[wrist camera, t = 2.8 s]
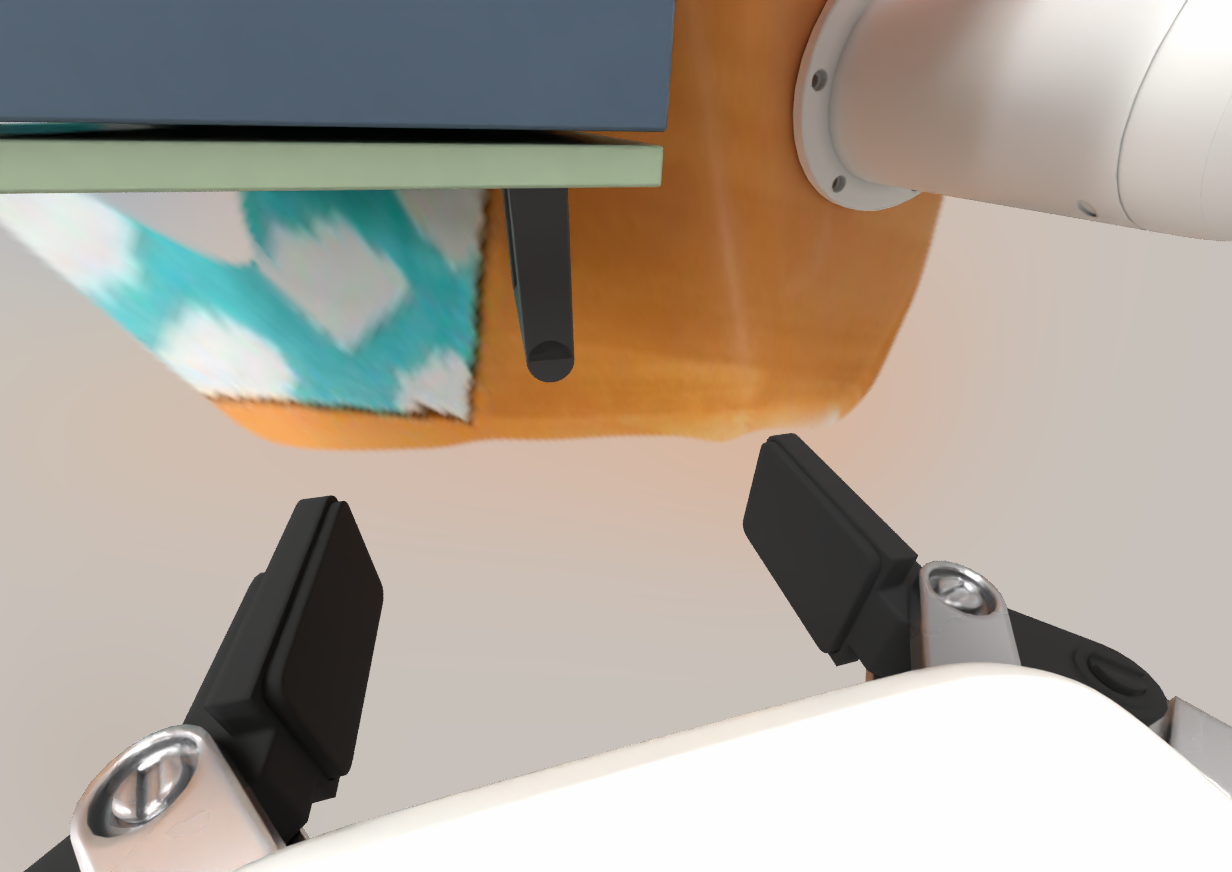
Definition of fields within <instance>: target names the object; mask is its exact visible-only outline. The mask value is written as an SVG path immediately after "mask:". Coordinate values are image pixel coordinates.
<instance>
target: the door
mask: <svg viewBox="0 0 1232 872" xmlns="http://www.w3.org/2000/svg"><path fill="white" fill-rule="evenodd" d="M662 164H663V147H662V146H660V145H655V144H649V143H643V142H637V141H632V140H626V139H620V138H614V137H608V136H603V135H597V134H591V133H585V132H579V131H573V130H508V129H442V128H376V127H310V126H244V125H179V124H113V123H23V124H22V123H19V124H0V194H7V193H105V192H197V191H198V192H202V191H204V192H205V191H304V190H403V189H502V194H503V203H504V212H505V221H506V230H507V239H508V248H509V258H510V267H511V276H512V285H513V290H514V296H515V301H516V307H517V312H518V318H519V323H520V329H521V334H522V340H523V345H524V351H525V356H526V362H527V367H528V369H529V371H530V373H531V374H532V375H533V376H534V377H535V378H537V379H538V380H541V381H544V382H556V381H559V380H562V379H563V378H565V377H566V376H567V375H568V374H569V373H570V372H571V370H572V368H573V365H574V339H573V312H572V285H571V259H570V232H569V205H568V188H601V187H659V186H660V185H661V179H662Z"/></svg>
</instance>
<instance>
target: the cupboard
mask: <svg viewBox="0 0 1232 872" xmlns="http://www.w3.org/2000/svg"><path fill="white" fill-rule="evenodd" d="M674 15H675V0H0V122H47V123H113V124H179V125H244V126H310V127H376V128H442V129H508V130H573V131H639V132H664V131H666V128H667V120H668V105H669V90H670V75H671V60H672V45H673V30H674Z"/></svg>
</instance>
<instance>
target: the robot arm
mask: <svg viewBox="0 0 1232 872" xmlns="http://www.w3.org/2000/svg"><path fill="white" fill-rule="evenodd" d="M812 79H813V84H812ZM793 126H794V140H795V145H796V149H797V153H798V158H799V161H800V164H801V166H802V168H803V170H804V172H805V175H806V177H807V179H808V180H809V181H810V183H811V184H812V185H813V187H814V188H815V189H816V190H817V192H818V193H819V194H821V195H822V196H823V197H825V198H826V199H827V200H829V201H830V202H832V203H834V204H837V205H840V206H842V207H845V208H849V209H854V210H859V211H879V210H883V209H887V208H891V207H895V206H897V205H899V204H901V203H904V202H906V201H908V200H910V199H912V198H914V197H915V196H917V195H918V194H920V193H921V192H929V193H935V194H941V195H946V196H952V197H958V198H964V199H970V200H975V201H981V202H987V203H993V204H998V205H1004V206H1010V207H1016V208H1021V209H1027V210H1033V211H1038V212H1044V213H1050V214H1056V215H1062V216H1067V217H1073V218H1079V219H1085V220H1090V221H1096V222H1102V223H1107V224H1113V225H1119V226H1125V227H1130V228H1136V229H1142V230H1149V231H1153V232H1159V233H1165V234H1171V235H1177V236H1183V237H1189V238H1195V239H1204V240H1214V241H1232V0H828V1H827V2H826V4H825V6H824V8H823V10H822V12H821V14H820V16H819V18H818V20H817V22H816V24H815V26H814V28H813V30H812V32H811V35H810V38H809V40H808V43H807V46H806V49H805V51H804V54H803V57H802V60H801V65H800V69H799V73H798V78H797V82H796V87H795V96H794V107H793ZM743 528H744V532H745V534H746V536H747V538H748V539H749V541H750V542H751V544H752V545H753V547H754V549H755V550H756V552H757V553H758V555H759V556H760V558H761V559H762V561H763V562H764V564H765V566H766V567H767V568H768V570H769V572H770V573H771V575H772V576H773V578H774V579H775V581H776V582H777V584H778V586H779V587H780V589H781V590H782V592H783V593H784V595H785V597H786V598H787V600H788V601H789V602H790V604H791V606H792V607H793V609H794V610H795V612H796V613H797V615H798V617H799V618H800V620H801V621H802V623H803V624H804V626H805V627H806V629H807V631H808V632H809V634H810V635H811V637H812V638H813V640H814V642H815V643H816V644H817V646H818V647H819V649H820V650H821V651H822V652H824V653H828V654H829V655H830V657H831V658H832V660H833V661H834V663H835V664H836V666H839V665H843V664H847V663H851V662H855V661H858V659H860V661H861V662H862V664H863V665H864V666H865V668H866V682H864V683H860V684H856V685H852V686H848V687H844V688H841V689H837V690H833V691H829V692H826V693H822V694H818V695H814V696H810V697H807V698H803V699H800V700H796V701H792V702H788V703H784V704H781V705H777V706H773V707H769V708H766V709H762V710H758V711H754V712H751V713H747V714H744V715H739V716H736V717H732V718H728V719H725V720H721V721H718V722H714V723H710V724H706V725H703V726H699V727H695V728H692V729H688V730H684V731H681V732H677V733H673V734H670V735H666V736H663V737H659V738H655V739H651V740H648V741H644V742H640V743H637V744H633V745H629V746H626V747H622V748H619V749H615V750H611V751H607V752H604V753H601V754H597V755H593V756H590V757H586V758H582V759H579V760H575V761H571V762H568V763H565V764H561V765H557V766H553V767H550V768H547V769H543V770H539V771H535V772H532V773H528V774H525V775H521V776H518V777H514V778H510V779H507V780H503V781H499V782H496V783H492V784H489V785H485V786H482V787H478V788H474V789H471V790H467V791H463V792H460V793H456V794H453V795H449V796H446V797H442V798H439V799H436V800H432V801H429V802H425V803H422V804H419V805H416V806H412V807H409V808H405V809H402V810H398V811H395V812H392V813H388V814H385V815H382V816H378V817H375V818H372V819H368V820H365V821H362V822H358V823H355V824H351V825H348V826H345V827H342V828H339V829H336V830H333V831H330V832H327V833H324V834H322V835H319V836H316V837H313V838H309V836H308V835H307V833H306V832H305V830H304V829H303V826H304V825H305V823H307V821H308V818H309V814H310V810H311V805H312V803H315V802H319V801H322V800H326V799H330V798H334V797H336V792H337V787H338V782H339V778H340V776H344V775H346V774H348V772H349V770H350V768H351V764H352V760H353V755H354V750H355V745H356V739H357V734H358V729H359V724H360V719H361V713H362V708H363V703H364V697H365V692H366V687H367V682H368V677H369V671H370V667H371V662H372V656H373V651H374V646H375V641H376V636H377V630H378V625H379V620H380V615H381V610H382V604H383V587H382V584H381V581H380V579H379V577H378V574H377V572H376V570H375V567H374V565H373V563H372V560H371V558H370V555H369V553H368V550H367V548H366V546H365V543H364V541H363V539H362V536H361V534H360V531H359V529H358V527H357V524H356V522H355V519H354V517H353V515H352V512H351V510H350V507H349V505H348V503H347V502H345V501H340V502H338V500H337V498H336V497H335V496H324V497H317V498H309V499H303V500H300V501H299V502H298V503H297V505H296V507H295V509H294V511H293V513H292V515H291V518H290V520H289V522H288V524H287V526H286V529H285V531H284V533H283V535H282V537H281V539H280V541H279V544H278V546H277V548H276V550H275V552H274V554H273V556H272V559H271V561H270V563H269V565H268V567H267V569H266V571H265V572H264V573H260V574H259V575H257V576H256V577H255V578H254V580H253V581H252V583H251V584H250V586H249V588H248V590H247V592H246V595H245V596H244V598H243V601H242V603H241V605H240V607H239V609H238V611H237V613H236V615H235V617H234V619H233V621H232V624H231V626H230V628H229V630H228V632H227V634H226V636H225V638H224V640H223V642H222V644H221V646H220V648H219V650H218V652H217V654H216V657H215V659H214V661H213V663H212V665H211V667H210V669H209V671H208V673H207V675H206V677H205V679H204V681H203V683H202V685H201V687H200V689H199V691H198V694H197V696H196V698H195V700H194V702H193V704H192V706H191V708H190V710H189V712H188V714H187V716H186V718H185V720H184V723H183V725H177V726H171V727H168V728H165V729H162V730H160V731H157V732H155V733H152V734H150V735H148V736H146V737H145V738H143V739H141V740H139V741H138V742H136V743H134V744H133V745H131V746H129V747H128V748H127V749H126V750H124V751H123V752H122V753H121V754H119V755H118V756H117V757H116V758H115V759H113V760H112V761H111V762H109V763H108V764H107V766H106V767H105V768H104V769H103V770H102V771H101V772H100V773H99V774H98V775H97V776H96V777H95V778H94V779H93V781H92V782H91V783H90V784H89V786H88V787H87V789H86V791H85V792H84V793H83V795H82V797H81V798H80V800H79V801H78V803H77V805H76V808H75V811H74V813H73V816H72V819H71V822H70V835H69V836H68V837H66V838H65V839H64V840H63V841H61V842H60V843H59V844H58V845H57V846H55V847H54V848H53V849H52V850H50V851H49V852H48V853H46V854H45V855H44V856H43V857H42V858H40V859H39V860H38V861H37V862H35V863H34V864H33V865H31V866H30V867H29V868H28V869H27V870H25V871H24V872H1232V727H1231V726H1229V725H1227V724H1226V723H1223V722H1222V721H1220V720H1218V719H1216V718H1214V717H1213V716H1211V715H1209V714H1208V713H1206V712H1204V711H1202V710H1200V709H1199V708H1197V707H1195V706H1193V705H1191V704H1190V703H1188V702H1186V701H1184V700H1182V699H1181V698H1179V697H1177V696H1175V697H1174V698H1172V699H1171V700H1170V701H1169V700H1167V699H1166V697H1165V695H1164V693H1163V691H1162V690H1161V688H1160V686H1159V685H1158V684H1157V683H1156V682H1155V681H1154V680H1153V679H1152V677H1151V676H1150V675H1149V674H1148V673H1147V672H1146V671H1145V670H1143V669H1142V668H1141V667H1140V666H1138V665H1137V664H1136V663H1135V662H1133V661H1132V660H1130V659H1129V658H1127V657H1125V656H1124V655H1122V654H1121V653H1119V652H1117V651H1115V650H1113V649H1111V648H1109V647H1106V646H1105V645H1103V644H1100V643H1097V642H1094V641H1092V640H1089V639H1087V638H1084V637H1082V636H1079V635H1076V634H1074V633H1071V632H1068V631H1066V630H1063V629H1060V628H1058V627H1055V626H1052V625H1050V624H1047V623H1045V622H1042V621H1039V620H1037V619H1034V618H1032V617H1029V616H1026V615H1023V614H1021V613H1018V612H1016V611H1013V610H1010V609H1008V608H1007V606H1006V603H1005V601H1004V599H1003V597H1002V595H1001V593H1000V592H999V591H998V590H997V589H996V588H995V586H994V585H993V584H992V583H991V582H989V581H988V580H987V579H986V578H984V577H983V576H982V575H980V574H978V573H977V572H975V571H973V570H971V569H970V568H967V567H964V566H962V565H960V564H957V563H952V562H947V561H932V562H929V563H926V564H925V565H924V566H923V567H921V566H920V565H919V564H918V563H917V562H916V561H915V560H916V559H917V557H918V555H917V554H916V553H915V552H914V551H913V550H912V549H911V548H910V547H909V546H908V545H907V544H906V543H905V542H904V541H903V540H902V539H901V538H900V537H899V536H898V535H897V534H896V533H895V532H894V531H893V530H892V529H891V528H890V527H889V526H888V525H887V524H886V523H885V522H884V521H883V520H882V519H881V518H880V517H879V516H878V515H877V514H876V513H875V512H874V511H873V510H872V509H871V508H870V507H869V506H868V505H867V504H866V503H865V502H864V501H863V500H862V499H861V498H860V497H859V496H858V495H857V494H856V493H855V492H854V491H853V490H852V489H851V488H850V487H849V486H848V485H847V484H846V483H845V482H844V481H843V480H842V479H841V478H840V477H839V476H838V475H837V474H836V473H835V472H834V471H833V470H832V469H830V467H829V466H828V465H827V464H826V463H825V462H824V461H823V460H822V459H821V458H820V457H818V455H816V454H815V453H814V451H813V450H811V449H810V448H809V447H808V446H807V445H806V444H805V443H804V442H803V441H802V440H801V439H800V438H799V437H798V436H797V435H796V434H793V433H789V434H782V435H775V436H770V437H769V438H768V439H767V442H766V443H763V444H762V446H761V449H760V453H759V457H758V461H757V466H756V470H755V474H754V478H753V482H752V486H751V490H750V494H749V498H748V502H747V507H746V511H745V515H744V519H743Z"/></svg>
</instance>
